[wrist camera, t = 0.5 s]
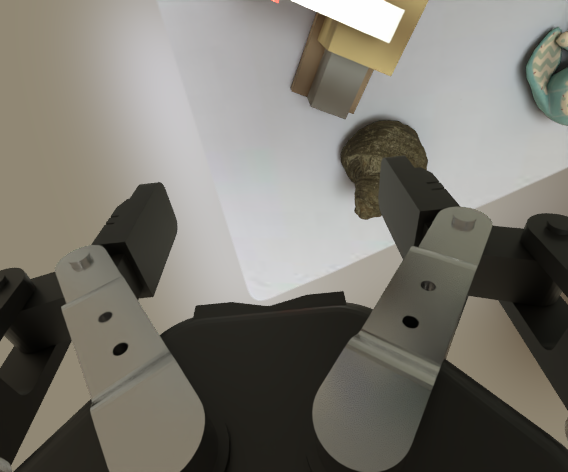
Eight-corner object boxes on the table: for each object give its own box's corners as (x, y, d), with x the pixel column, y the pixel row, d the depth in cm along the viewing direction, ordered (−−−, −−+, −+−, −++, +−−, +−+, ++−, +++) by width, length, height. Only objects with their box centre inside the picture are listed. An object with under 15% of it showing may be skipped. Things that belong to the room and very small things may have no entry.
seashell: (311, 155, 33) (332, 233, 39) (439, 148, 26) (442, 244, 32) (352, 110, 40) (365, 182, 46) (462, 96, 33) (462, 182, 39)
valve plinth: (360, -118, 26) (393, -156, 19) (435, -77, 28) (489, -99, 21) (290, 87, 35) (296, 110, 28) (350, 109, 36) (369, 136, 30)
